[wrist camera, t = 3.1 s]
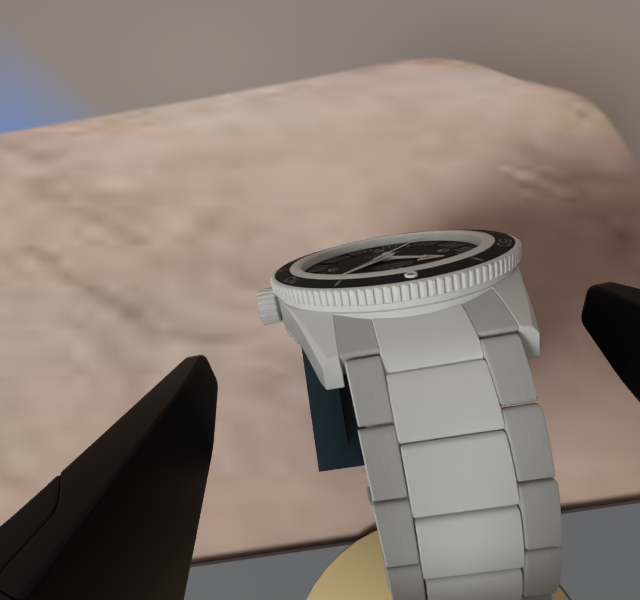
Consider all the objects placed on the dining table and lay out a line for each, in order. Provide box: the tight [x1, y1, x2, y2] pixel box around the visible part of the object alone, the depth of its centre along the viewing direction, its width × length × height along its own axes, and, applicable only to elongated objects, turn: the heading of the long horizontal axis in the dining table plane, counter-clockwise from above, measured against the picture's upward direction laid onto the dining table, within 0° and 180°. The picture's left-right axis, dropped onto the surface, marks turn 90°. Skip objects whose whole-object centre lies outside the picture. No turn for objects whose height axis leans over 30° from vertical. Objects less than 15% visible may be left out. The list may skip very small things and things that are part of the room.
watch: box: [257, 230, 563, 600], centre depth 10 cm, size 6×8×11 cm
